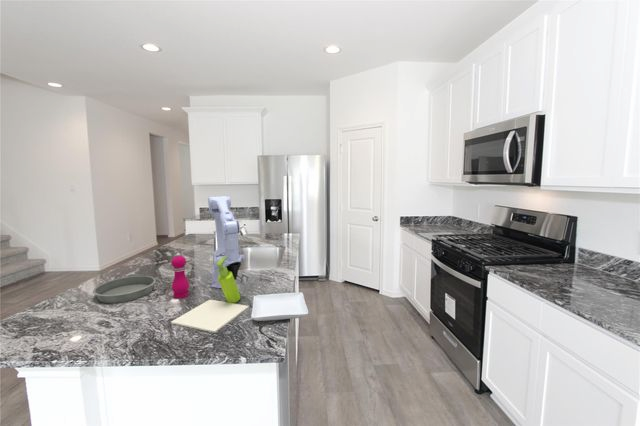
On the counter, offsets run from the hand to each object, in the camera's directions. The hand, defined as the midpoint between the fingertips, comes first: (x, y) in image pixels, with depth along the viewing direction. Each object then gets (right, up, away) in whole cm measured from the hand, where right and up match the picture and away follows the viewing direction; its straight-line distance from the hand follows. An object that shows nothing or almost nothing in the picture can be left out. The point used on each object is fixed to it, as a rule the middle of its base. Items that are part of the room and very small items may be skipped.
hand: (233, 279), depth 130 cm
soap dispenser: (0, -8, +1) cm, 8 cm away
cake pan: (-53, -9, +11) cm, 55 cm away
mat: (-5, -11, -12) cm, 17 cm away
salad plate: (+21, -11, -8) cm, 25 cm away
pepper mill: (-26, -9, +7) cm, 28 cm away
